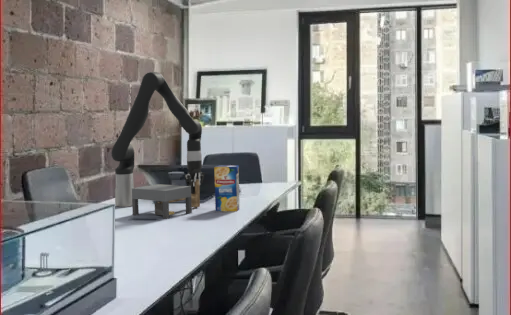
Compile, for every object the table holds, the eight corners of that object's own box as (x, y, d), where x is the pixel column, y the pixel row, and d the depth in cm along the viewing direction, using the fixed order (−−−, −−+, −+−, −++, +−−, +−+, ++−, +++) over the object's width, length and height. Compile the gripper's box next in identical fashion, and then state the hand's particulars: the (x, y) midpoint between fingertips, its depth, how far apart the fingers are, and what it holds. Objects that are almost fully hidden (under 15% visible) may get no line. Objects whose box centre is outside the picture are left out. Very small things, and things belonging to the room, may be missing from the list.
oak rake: (194, 206, 299) (193, 179, 298) (201, 206, 296) (200, 179, 295) (155, 214, 276) (154, 185, 275) (162, 215, 273) (161, 186, 272)
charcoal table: (132, 215, 279) (131, 188, 278) (158, 209, 294) (158, 184, 293) (166, 218, 266) (165, 190, 265) (191, 212, 281) (191, 186, 280)
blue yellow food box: (237, 211, 283) (236, 166, 282) (215, 211, 285) (214, 166, 283) (239, 208, 290) (238, 165, 288) (218, 208, 292) (217, 165, 290)
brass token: (161, 215, 279) (160, 212, 279) (167, 213, 282) (167, 210, 282) (167, 216, 276) (167, 212, 276) (174, 214, 280) (174, 211, 280)
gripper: (197, 158, 303) (198, 191, 304) (179, 160, 291) (180, 194, 292) (208, 158, 298) (209, 191, 300) (190, 160, 287) (191, 195, 288)
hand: (195, 193), depth 296 cm, fingers closed on oak rake, 3 cm apart
